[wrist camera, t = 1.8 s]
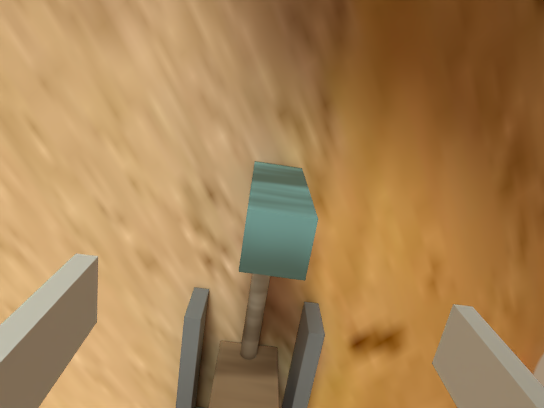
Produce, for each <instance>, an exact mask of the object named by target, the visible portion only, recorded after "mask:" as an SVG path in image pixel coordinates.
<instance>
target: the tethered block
mask: <svg viewBox="0 0 544 408" xmlns="http://www.w3.org/2000/svg"><path fill="white" fill-rule="evenodd" d="M317 222H318V217H317V214H316V211H315V208H314V205H313V201H312V198H311V195H310V192H309V189H308V186H307V183H306V179H305V176H304V173H303V170H302V168H296V167H289V166H283V165H276V164H270V163H263V162H256V161H255V164H254V171H253V177H252V184H251V190H250V197H249V203H248V210H247V217H246V224H245V231H244V238H243V245H242V252H241V259H240V266H239V272H245V273H252V280H251V286H250V292H249V299H248V305H247V312H246V318H245V324H244V331H243V337H242V343H236V342H228V341H220V346H219V352H218V357H217V363H216V369H215V374H214V380H213V385H212V391H211V397H210V402H209V408H279V395H278V359H277V347H268V346H260V345H258V343H259V338H260V332H261V326H262V320H263V315H264V309H265V303H266V298H267V292H268V286H269V280H270V276H275V277H283V278H290V279H298V280H305V279H306V274H307V269H308V265H309V260H310V255H311V250H312V246H313V241H314V236H315V231H316V227H317Z"/></svg>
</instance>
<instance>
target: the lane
mask: <svg viewBox="0 0 544 408" xmlns="http://www.w3.org/2000/svg"><path fill="white" fill-rule="evenodd" d="M208 293H209V289H203V288H195V287H194V290H193V293H192V296H191V299H190V302H189V305H188V308H187V311H186V314H185V317H184V326H183V336H182V347H181V358H180V368H179V379H178V390H177V400H176V408H203V407H195V406H196V397H197V388H198V380H199V371H200V362H201V354H202V345H203V337H204V328H205V319H206V311H207V302H208ZM324 336H325V333H324V328H323V323H322V318H321V314H320V309H319V304H318V303H310V302H304V306H303V310H302V315H301V320H300V324H299V329H298V334H297V338H296V343H295V348H294V352H293V357H292V362H291V366H290V371H289V376H288V380H287V385H286V390H285V394H284V399H283V404H282V408H307V406H308V402H309V398H310V394H311V390H312V386H313V382H314V377H315V373H316V369H317V365H318V361H319V357H320V353H321V349H322V345H323V340H324Z"/></svg>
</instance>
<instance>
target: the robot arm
mask: <svg viewBox="0 0 544 408" xmlns="http://www.w3.org/2000/svg"><path fill="white" fill-rule="evenodd" d="M97 289H98V256H91V255H84V254H75V255H74V256H73V257H72V258H71V259H70V260H69V261H67V262H66V263H65V264H64V265H63V266H62V267H61V268H60V269H59V270H58V271H57V272H56V273H55V274H54V275H53V276H52V277H51V278H49V279H48V280H47V281H46V282H45V283H44V284H43V285H42V286H41V287H40V288H39V289H38V290H37V291H36V292H35V293H34V294H33V295H31V296H30V297H29V298H28V299H27V300H26V301H25V302H24V303H23V304H22V305H21V306H20V307H19V308H18V309H17V310H16V311H15V312H13V313H12V314H11V315H10V316H9V317H8V318H7V319H6V320H5V321H4V322H3V323H2V324H1V325H0V408H38V407H39V406H40V404H41V403H42V402H43V400H44V399H45V397H46V396H47V394H48V393H49V391H50V390H51V388H52V387H53V385H54V384H55V383H56V381H57V380H58V378H59V377H60V375H61V374H62V372H63V371H64V369H65V368H66V366H67V365H68V363H69V362H70V361H71V359H72V358H73V356H74V355H75V353H76V352H77V350H78V349H79V347H80V346H81V344H82V343H83V342H84V340H85V339H86V337H87V336H88V334H89V333H90V331H91V330H92V328H93V327H94V325H95V324H96V323H97ZM432 364H433V366H434V368H435V369H436V371H437V373H438V375H439V376H440V378H441V380H442V382H443V383H444V385H445V387H446V388H447V390H448V392H449V394H450V395H451V397H452V399H453V401H454V402H455V404H456V406H457V408H544V387H543V385H542V384H541V383H540V382H539V381H538V380H537V379H536V378H535V376H534V375H533V374H532V373H531V372H530V371H529V370H528V369H527V367H526V366H525V365H524V364H523V363H522V362H521V361H520V359H519V358H518V357H517V356H516V355H515V354H514V353H513V352H512V350H511V349H510V348H509V347H508V346H507V345H506V344H505V343H504V341H503V340H502V339H501V338H500V337H499V336H498V335H497V334H496V332H495V331H494V330H493V329H492V328H491V327H490V326H489V325H488V323H487V322H486V321H485V320H484V319H483V318H482V317H481V315H480V314H479V313H478V312H477V311H476V310H475V309H474V308H473V307H471V306H463V305H456V304H453V306H452V309H451V312H450V315H449V318H448V320H447V323H446V326H445V329H444V331H443V334H442V337H441V340H440V343H439V345H438V348H437V351H436V354H435V357H434V359H433V362H432Z"/></svg>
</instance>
